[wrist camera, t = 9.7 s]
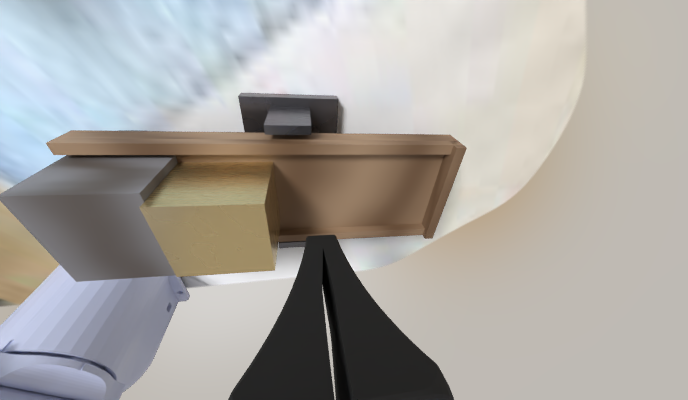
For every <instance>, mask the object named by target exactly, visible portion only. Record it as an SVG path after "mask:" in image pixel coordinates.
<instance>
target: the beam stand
mask: <svg viewBox="0 0 688 400" xmlns="http://www.w3.org/2000/svg"><path fill="white" fill-rule="evenodd" d="M238 97H239V102H240V108H241V114H242V119H243V125H244V130H245V132H248V133H265V135H311V133H336V129H337V108H338V98H337V96H322V95H291V94H259V93H241V94H240V95H239V96H238ZM305 244H306V241H291V242H279V247H280V248H288V247H305Z"/></svg>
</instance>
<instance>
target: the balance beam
mask: <svg viewBox="0 0 688 400" xmlns="http://www.w3.org/2000/svg"><path fill="white" fill-rule="evenodd" d="M46 144H47V146H48V147H49V149H50V150H51V152H52V153H53V154H54V155H66V156H65V157H63V158H61V159H60V160H58V161H56V162H54V163H53V164H51V165H49V166H48V167H46V168H44V169H42V170H41V171H39V172H37V173H36V174H34V175H32V176H30V177H29V178H27V179H25V180H24V181H22V182H20V183H18V184H17V185H15V186H13V187H12V188H10V189H8V190H6V191H5V192H3V193H1V194H0V201H1V202H2V203H3V204H4V205H5V206H6V207H7V208H8V209H9V210H10V212H11V213H12V214H13V215H14V216H15V217H16V218H17V219H18V220H19V221H20V222H21V223H22V224H23V225H24V227H25V228H26V229H27V230H28V231H29V232H30V233H31V234H32V235H33V236H34V237H35V238H36V239H37V240H38V242H39V243H40V244H41V245H42V246H43V247H44V248H45V249H46V250H47V251H48V252H49V253H50V254H51V255H52V256H53V258H54V259H55V260H56V261H57V262H58V263H59V264H60V265H61V266H62V267H63V268H64V269H65V270H66V271H67V273H68V274H69V275H70V276H71V277H72V278H73V279H74V280H75V281H76V282H82V281H98V280H113V279H128V278H143V277H158V276H174V275H175V273H174V271H173V269H172V267H171V266H170V264H169V262H168V260H167V258H166V256H165V254H164V253H163V251H162V249H161V247H160V245H159V243H158V241H157V240H156V238H155V236H154V234H153V232H152V230H151V228H150V227H149V225H148V223H147V221H146V219H145V217H144V215H143V214H142V212H141V210H140V208H139V207H140V206H141V205H142V204H143V203H144V202H145V200H146V199H147V198H148V197H149V196H150V195H151V193H152V192H153V191H154V190H155V189H156V188H157V187H158V185H159V184H160V183H161V182H162V181H163V180H164V178H165V177H166V176H167V175H168V174H169V173H170V171H171V170H172V169H173V168H174V167H175V166H176V164H177V163H178V162H273V166H274V174H275V182H276V191H277V199H278V207H279V216H280V230H279V239H278V242H291V241H306V237H308V236H316V235H335V236H336V237H337V239H350V238H370V237H389V236H409V235H423V236H424V238H425V239H427V238H433V235H434V233H435V230H436V227H437V225H438V222H439V219H440V217H441V214H442V212H443V209H444V206H445V204H446V201H447V198H448V196H449V193H450V191H451V188H452V185H453V183H454V180H455V177H456V175H457V172H458V170H459V167H460V164H461V162H462V159H463V156H464V154H465V151H466V147H465V146H464V145H462V144H461V143H460V142H459V141H457V140H456V139H455V138H453V137H452V136H451V135H424V134H336V133H311V135H265V133H248V132H160V131H69V132H67V133H65V134H63V135H61V136H59V137H57V138H55V139H53V140H51V141H49V142H47V143H46Z"/></svg>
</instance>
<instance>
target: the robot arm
mask: <svg viewBox="0 0 688 400" xmlns="http://www.w3.org/2000/svg"><path fill="white" fill-rule="evenodd" d="M322 285H323V291H324V297H325V303H326V309H327V315H328V321H329V327H330V333H331V341H332V353H333V367H334V379H335V392H336V400H454V398H453V395H452V393H451V390H450V388H449V385H448V384H447V382H446V380H445V378H444V376H443V374H442V372H441V370H440V369H439V367H438V365H437V364H436V363H435V362H434V361H433V360H431V359H430V358H429V357H428V356H427V355H426V354H425V353H423V352H422V351H421V350H420V349H419V348H418V347H417V346H416V345H415V344H414V343H413V342H412V341H411V340H410V339H409V338H408V337H407V336H406V335H405V334H404V333H402V331H401V330H400V329H399V328H398V327H397V326H396V325H395V324H394V323H393V322H392V321H391V319H390V318H389V317H388V316H387V315H386V314H385V313H384V312H383V311H382V309H381V308H380V307H379V306H378V305H377V303H376V302H375V301H374V300H373V298H372V297H371V296H370V294H369V293H368V292H367V290H366V289H365V287H364V286H363V285H362V283H361V282H360V280H359V279H358V277H357V276H356V274H355V272H354V271H353V269H352V267H351V266H350V264H349V262H348V261H347V259H346V257H345V255H344V253H343V251H342V249H341V247H340V245H339V242H338V240H337V237H336V236H335V235H316V236H308V237H306V244H305V250H304V254H303V258H302V262H301V265H300V268H299V271H298V274H297V277H296V280H295V282H294V284H293V288H292V290H291V292H290V294H289V296H288V299H287V301H286V303H285V305H284V307H283V309H282V312H281V314H280V315H279V317H278V319H277V321H276V323H275V325H274V327H273V328H272V330H271V332H270V334H269V336H268V337H267V339H266V340H265V342H264V344H263V345H262V347H261V349H260V350H259V352H258V354H257V355H256V357H255V359H254V360H253V362H252V363H251V365H250V366H249V368H248V369H247V370H246V372H245V373H244V375H243V376H242V378H241V379H240V381H239V382H238V384H237V385H236V386H235V388H234V389H233V391H232V393H231V395H230V397H229V399H228V400H334V392H333V384H332V376H331V368H330V360H329V351H328V342H327V333H326V323H325V314H324V304H323V294H322ZM189 297H190V295H189V293H188V291H187V289H186V287H185V285H184V283H183V282H182V280H181V278H180V277H176V275H174V276H158V277H143V278H128V279H113V280H98V281H82V282H76V281H75V280H74V279H73V278H72V277H71V276H70V275H69V274H68V273H67V271H66V270H65V269H64V268H63V267H62V266H61V265H59V266H58V267H57V268H56V269H55V270H54V271H53V272H52V273H51V274H50V275H49V276H48V277H47V278H46V279H45V280H44V281H43V282H42V283H41V284H40V285H39V286H38V287H37V288H36V290H35V291H34V292H33V293H32V294H31V295H30V296H29V297H28V298H27V299H26V300H25V301H24V302H23V303H22V304H21V305H20V306H19V307H18V308H17V309H16V310H15V311H14V312H13V313H12V314H11V315H10V316H9V317H8V318H7V319H6V320H5V321H4V322H3V323H2V324H1V326H0V400H119V399H120V396H121V394H122V393H123V392H124V391H126V390H127V389H128V388H129V387H131V386H132V385H133V384H134V383H135V382H136V381H137V380H138V379H139V378H140V377H141V376H142V375H143V374H144V373H145V371H146V370H147V369H148V367H149V366H150V364H151V363H152V361H153V359H154V357H155V355H156V352H157V350H158V348H159V345H160V343H161V341H162V338H163V336H164V333H165V331H166V329H167V327H168V324H169V322H170V320H171V317H172V315H173V313H174V311H175V308H176V306H177V303H178V302H179V301H186V300H188V299H189Z"/></svg>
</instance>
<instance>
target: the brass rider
mask: <svg viewBox="0 0 688 400" xmlns="http://www.w3.org/2000/svg"><path fill="white" fill-rule="evenodd" d="M139 208H140V210H141V212H142V214H143V215H144V217H145V219H146V221H147V223H148V225H149V227H150V228H151V230H152V232H153V234H154V236H155V238H156V240H157V241H158V243H159V245H160V247H161V249H162V251H163V253H164V254H165V256H166V258H167V260H168V262H169V264H170V266H171V267H172V269H173V271H174V273H175V275H176V277H184V276H199V275H214V274H228V273H243V272H258V271H273V270H275V266H276V257H277V248H278V239H279V230H280V216H279V207H278V199H277V191H276V182H275V174H274V166H273V162H178V163H177V164H176V166H175V167H174V168H173V169H172V170H171V171H170V173H169V174H168V175H167V176H166V177H165V178H164V180H163V181H162V182H161V183H160V184H159V185H158V187H157V188H156V189H155V190H154V191H153V192H152V193H151V195H150V196H149V197H148V198H147V199H146V200H145V202H144V203H143V204H142V205H141V206H140V207H139Z"/></svg>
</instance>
